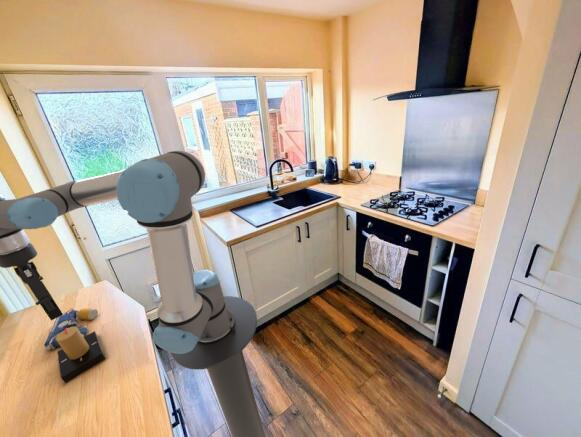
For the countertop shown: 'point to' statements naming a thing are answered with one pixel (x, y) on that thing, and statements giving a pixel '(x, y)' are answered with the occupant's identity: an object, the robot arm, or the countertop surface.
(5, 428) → the countertop surface
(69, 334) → the brass dial cylinder
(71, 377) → the black dial panel
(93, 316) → the spray gun
